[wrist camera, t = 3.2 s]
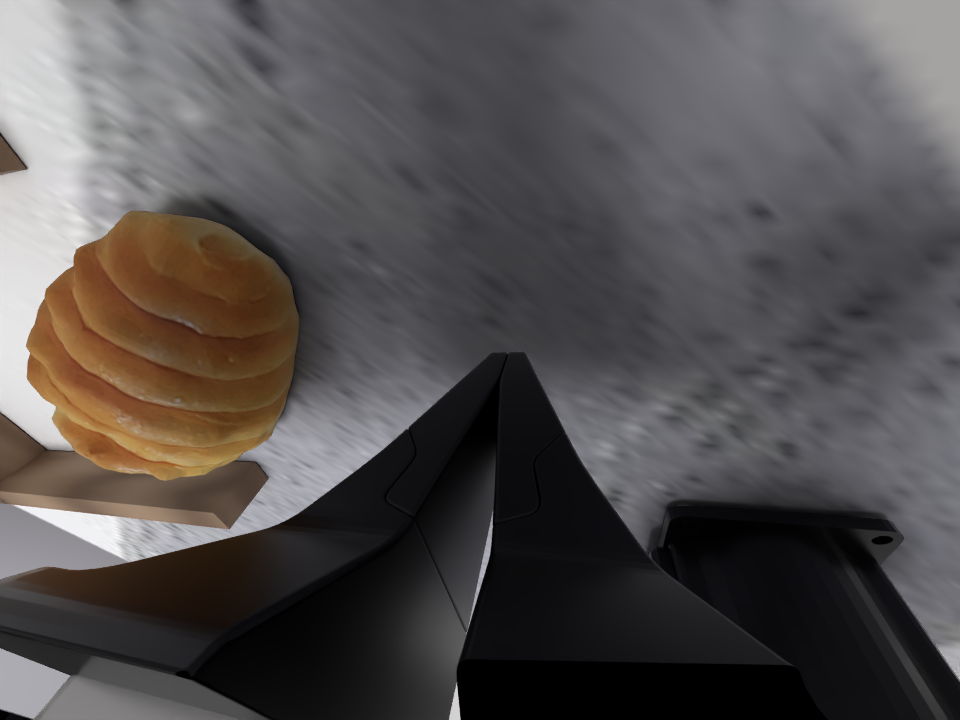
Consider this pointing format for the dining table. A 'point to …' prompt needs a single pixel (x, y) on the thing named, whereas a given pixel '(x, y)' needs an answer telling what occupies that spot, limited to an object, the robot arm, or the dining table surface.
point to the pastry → (166, 346)
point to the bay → (116, 474)
